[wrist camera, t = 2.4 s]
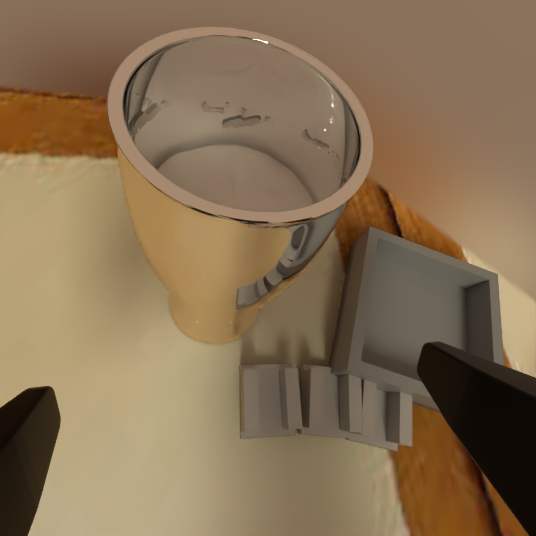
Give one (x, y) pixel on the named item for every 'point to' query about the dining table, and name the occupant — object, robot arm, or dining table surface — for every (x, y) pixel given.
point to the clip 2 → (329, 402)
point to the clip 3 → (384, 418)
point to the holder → (411, 312)
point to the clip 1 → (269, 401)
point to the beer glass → (233, 167)
